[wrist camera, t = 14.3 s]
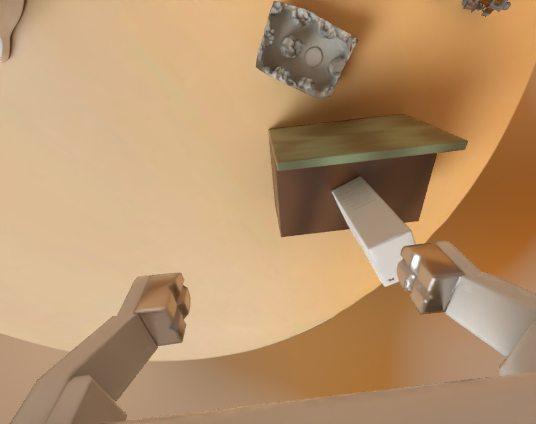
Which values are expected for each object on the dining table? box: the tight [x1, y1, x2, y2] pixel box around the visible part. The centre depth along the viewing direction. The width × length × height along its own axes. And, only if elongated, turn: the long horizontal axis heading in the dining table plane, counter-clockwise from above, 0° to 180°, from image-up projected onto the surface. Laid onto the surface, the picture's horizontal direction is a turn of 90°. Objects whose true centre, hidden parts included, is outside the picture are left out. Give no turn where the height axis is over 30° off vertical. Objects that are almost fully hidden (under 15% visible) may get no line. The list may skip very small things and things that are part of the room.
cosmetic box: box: [332, 177, 416, 287], centre depth 29 cm, size 6×4×12 cm
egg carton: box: [256, 1, 358, 98], centre depth 31 cm, size 11×8×4 cm
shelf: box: [268, 114, 468, 237], centre depth 35 cm, size 20×13×13 cm, turn 95°
